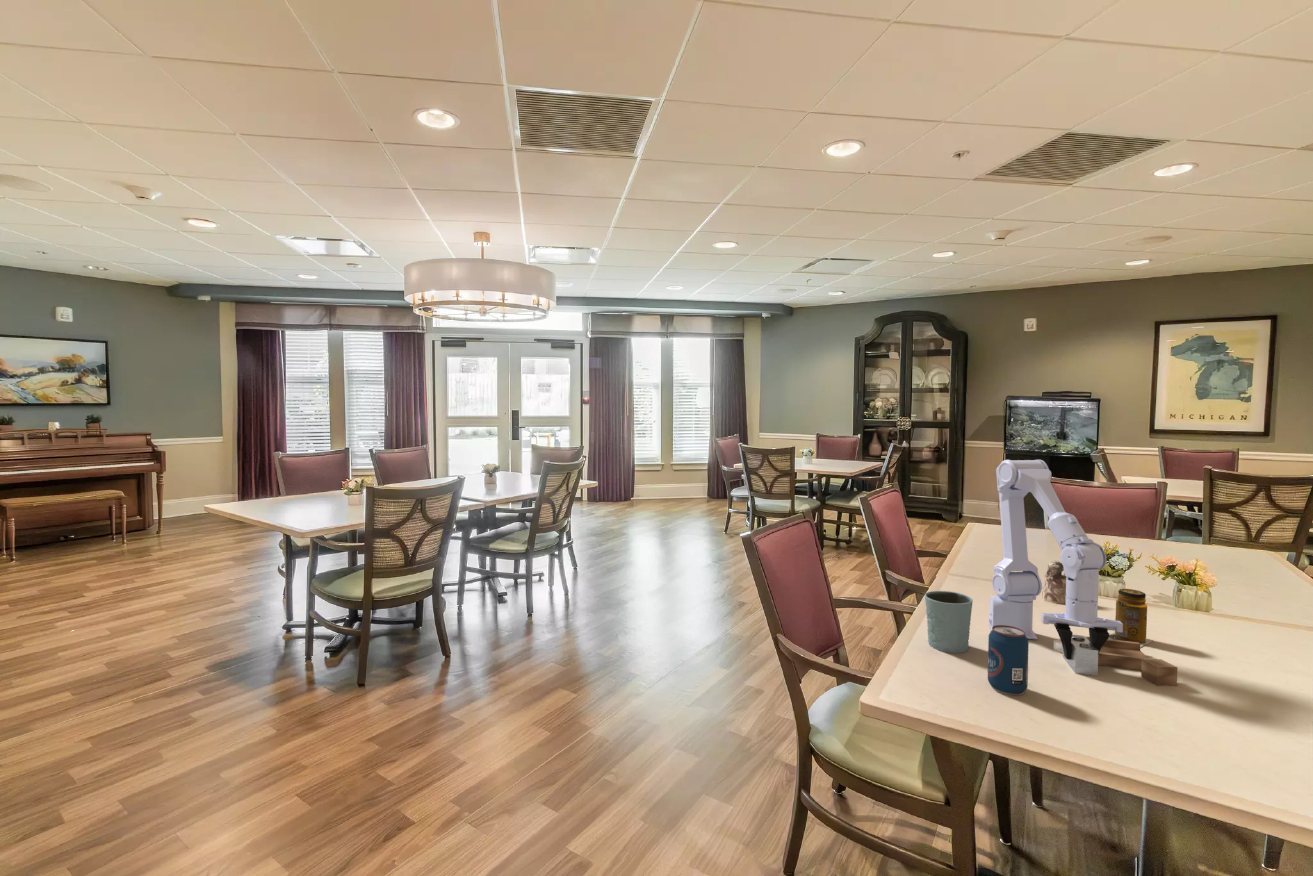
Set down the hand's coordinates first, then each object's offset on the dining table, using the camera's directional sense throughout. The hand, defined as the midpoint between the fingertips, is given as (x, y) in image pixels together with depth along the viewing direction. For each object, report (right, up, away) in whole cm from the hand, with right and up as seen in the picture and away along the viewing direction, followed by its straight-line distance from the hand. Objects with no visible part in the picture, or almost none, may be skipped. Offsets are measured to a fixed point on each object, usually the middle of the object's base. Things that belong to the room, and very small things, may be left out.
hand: (1079, 659), depth 130 cm
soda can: (-22, -2, -11) cm, 25 cm away
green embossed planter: (-24, -1, +11) cm, 26 cm away
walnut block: (+11, -2, -7) cm, 13 cm away
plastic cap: (+2, -1, +9) cm, 9 cm away
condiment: (+23, -1, +16) cm, 28 cm away
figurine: (+26, 0, +47) cm, 54 cm away
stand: (+11, -1, +4) cm, 12 cm away
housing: (0, -2, 0) cm, 2 cm away
